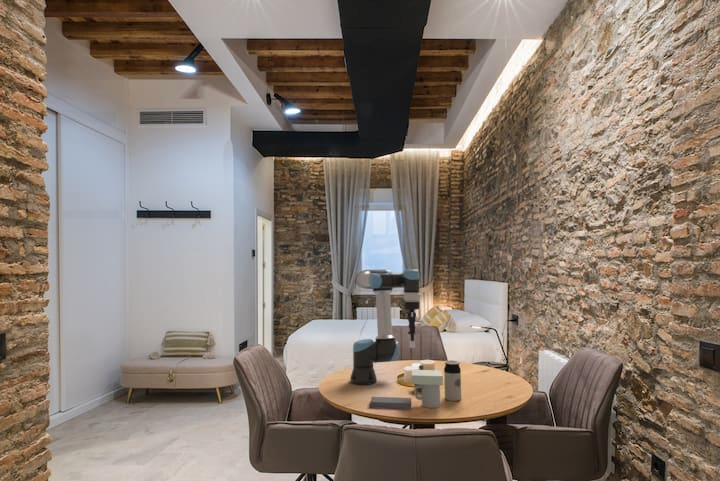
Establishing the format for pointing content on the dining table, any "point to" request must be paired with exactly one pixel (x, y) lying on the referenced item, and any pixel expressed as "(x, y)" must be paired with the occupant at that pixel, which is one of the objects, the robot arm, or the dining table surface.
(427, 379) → the lid
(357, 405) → the dining table surface
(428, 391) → the mug
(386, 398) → the mat
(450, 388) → the travel mug
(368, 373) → the robot arm
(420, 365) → the mortar and pestle
